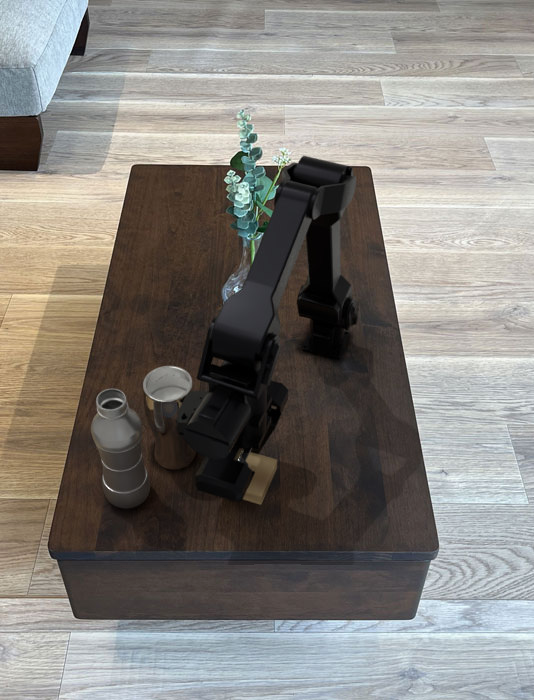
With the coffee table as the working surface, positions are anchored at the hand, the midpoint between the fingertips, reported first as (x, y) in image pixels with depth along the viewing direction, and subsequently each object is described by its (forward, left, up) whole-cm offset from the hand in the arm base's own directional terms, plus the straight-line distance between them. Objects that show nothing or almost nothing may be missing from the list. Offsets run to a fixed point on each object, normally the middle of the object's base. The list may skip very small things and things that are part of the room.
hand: (244, 474), depth 108 cm
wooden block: (0, 0, -1) cm, 1 cm away
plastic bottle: (+6, -15, -4) cm, 17 cm away
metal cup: (-3, -12, -4) cm, 13 cm away
